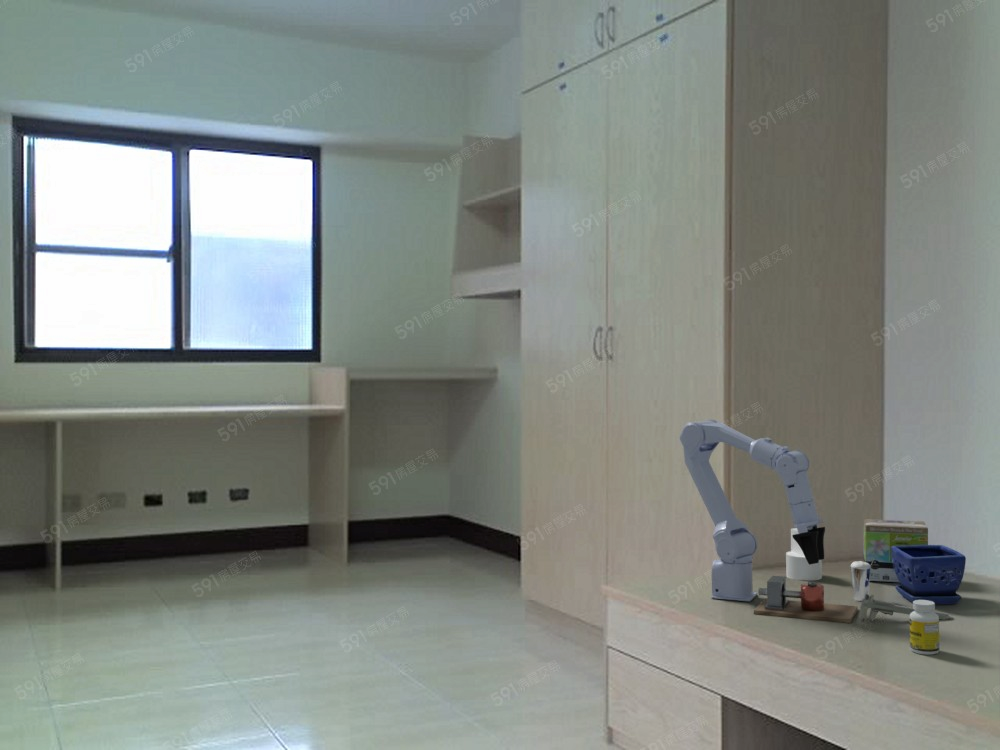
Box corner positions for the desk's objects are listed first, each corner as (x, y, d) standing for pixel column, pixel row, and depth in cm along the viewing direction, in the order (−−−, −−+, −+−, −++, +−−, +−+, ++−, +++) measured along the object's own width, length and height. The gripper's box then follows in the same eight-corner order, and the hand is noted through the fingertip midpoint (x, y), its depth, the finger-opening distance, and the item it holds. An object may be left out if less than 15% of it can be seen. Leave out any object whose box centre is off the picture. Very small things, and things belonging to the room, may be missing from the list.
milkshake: (876, 602, 241) (875, 560, 241) (852, 601, 242) (851, 559, 242) (873, 597, 245) (872, 556, 245) (849, 597, 246) (849, 555, 246)
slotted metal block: (764, 609, 234) (764, 582, 234) (771, 600, 241) (771, 574, 241) (782, 610, 232) (781, 583, 232) (789, 602, 239) (788, 576, 239)
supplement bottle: (904, 647, 205) (904, 599, 205) (930, 646, 205) (930, 598, 205) (918, 656, 199) (917, 606, 199) (944, 654, 200) (944, 604, 200)
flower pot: (969, 606, 235) (968, 555, 235) (911, 608, 235) (910, 556, 235) (943, 592, 249) (943, 543, 248) (889, 594, 248) (888, 545, 248)
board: (753, 613, 233) (753, 610, 233) (764, 601, 244) (764, 598, 244) (850, 622, 224) (850, 619, 224) (857, 609, 235) (857, 606, 235)
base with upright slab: (780, 574, 273) (779, 529, 272) (811, 571, 274) (811, 527, 274) (796, 581, 264) (795, 535, 263) (828, 579, 265) (827, 533, 265)
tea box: (865, 582, 261) (864, 524, 261) (863, 573, 271) (862, 518, 270) (928, 585, 257) (928, 526, 256) (924, 576, 266) (924, 519, 266)
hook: (757, 605, 236) (756, 581, 236) (761, 600, 241) (761, 576, 241) (822, 611, 230) (821, 586, 230) (825, 606, 234) (825, 581, 234)
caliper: (862, 623, 224) (861, 594, 224) (860, 622, 226) (860, 593, 225) (954, 620, 225) (953, 591, 225) (951, 619, 226) (951, 590, 226)
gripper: (813, 501, 227) (829, 562, 225) (824, 497, 240) (839, 555, 238) (782, 507, 230) (797, 567, 228) (794, 503, 243) (809, 560, 241)
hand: (816, 561), depth 233 cm, fingers open, 7 cm apart
